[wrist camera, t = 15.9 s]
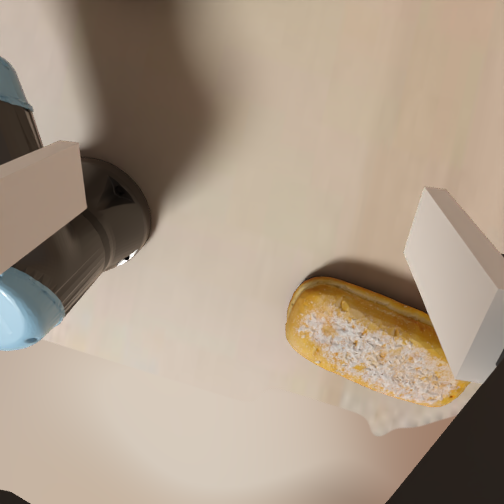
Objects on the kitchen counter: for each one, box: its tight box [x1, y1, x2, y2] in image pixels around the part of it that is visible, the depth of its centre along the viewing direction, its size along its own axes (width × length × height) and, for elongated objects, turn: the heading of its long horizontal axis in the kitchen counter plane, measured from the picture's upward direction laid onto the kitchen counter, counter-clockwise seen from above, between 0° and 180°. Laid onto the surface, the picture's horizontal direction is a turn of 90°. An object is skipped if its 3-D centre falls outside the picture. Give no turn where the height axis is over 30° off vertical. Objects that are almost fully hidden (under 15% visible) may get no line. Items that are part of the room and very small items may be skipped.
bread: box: [286, 277, 470, 407], centre depth 54 cm, size 13×26×8 cm, turn 72°
